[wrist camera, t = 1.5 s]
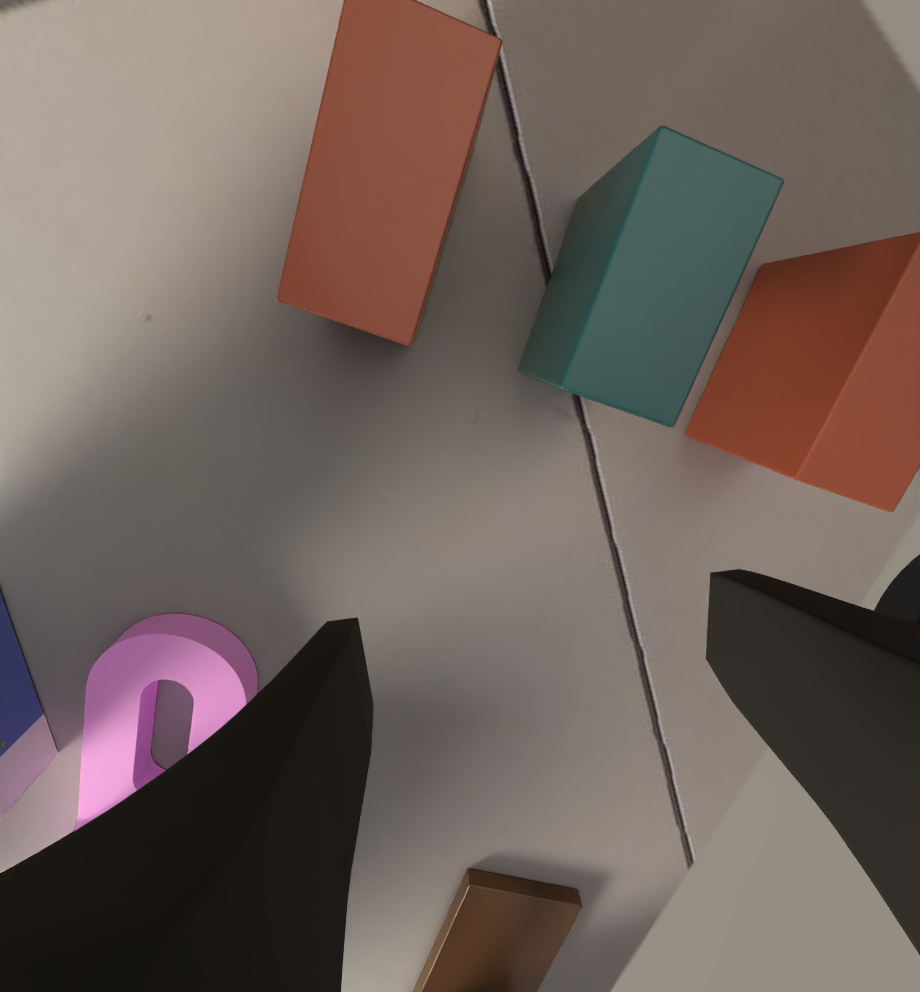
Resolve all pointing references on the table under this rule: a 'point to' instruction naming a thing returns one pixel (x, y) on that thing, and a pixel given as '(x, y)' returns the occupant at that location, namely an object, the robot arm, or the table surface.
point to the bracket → (132, 700)
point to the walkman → (19, 721)
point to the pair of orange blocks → (754, 338)
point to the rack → (499, 935)
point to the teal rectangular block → (648, 275)
